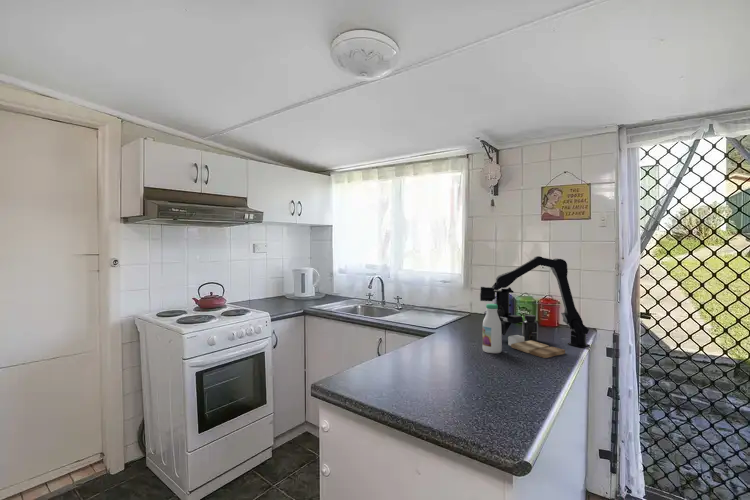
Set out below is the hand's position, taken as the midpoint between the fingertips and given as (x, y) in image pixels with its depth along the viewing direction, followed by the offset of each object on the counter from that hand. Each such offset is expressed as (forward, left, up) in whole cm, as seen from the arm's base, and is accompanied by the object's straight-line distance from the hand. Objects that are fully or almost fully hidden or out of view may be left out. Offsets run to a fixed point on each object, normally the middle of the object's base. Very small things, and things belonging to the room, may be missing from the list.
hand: (502, 334), depth 166 cm
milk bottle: (+17, +10, -3) cm, 20 cm away
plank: (-1, +15, -3) cm, 15 cm away
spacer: (0, +8, -3) cm, 8 cm away
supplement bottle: (-12, +6, -3) cm, 14 cm away
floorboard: (-1, +24, -3) cm, 24 cm away
